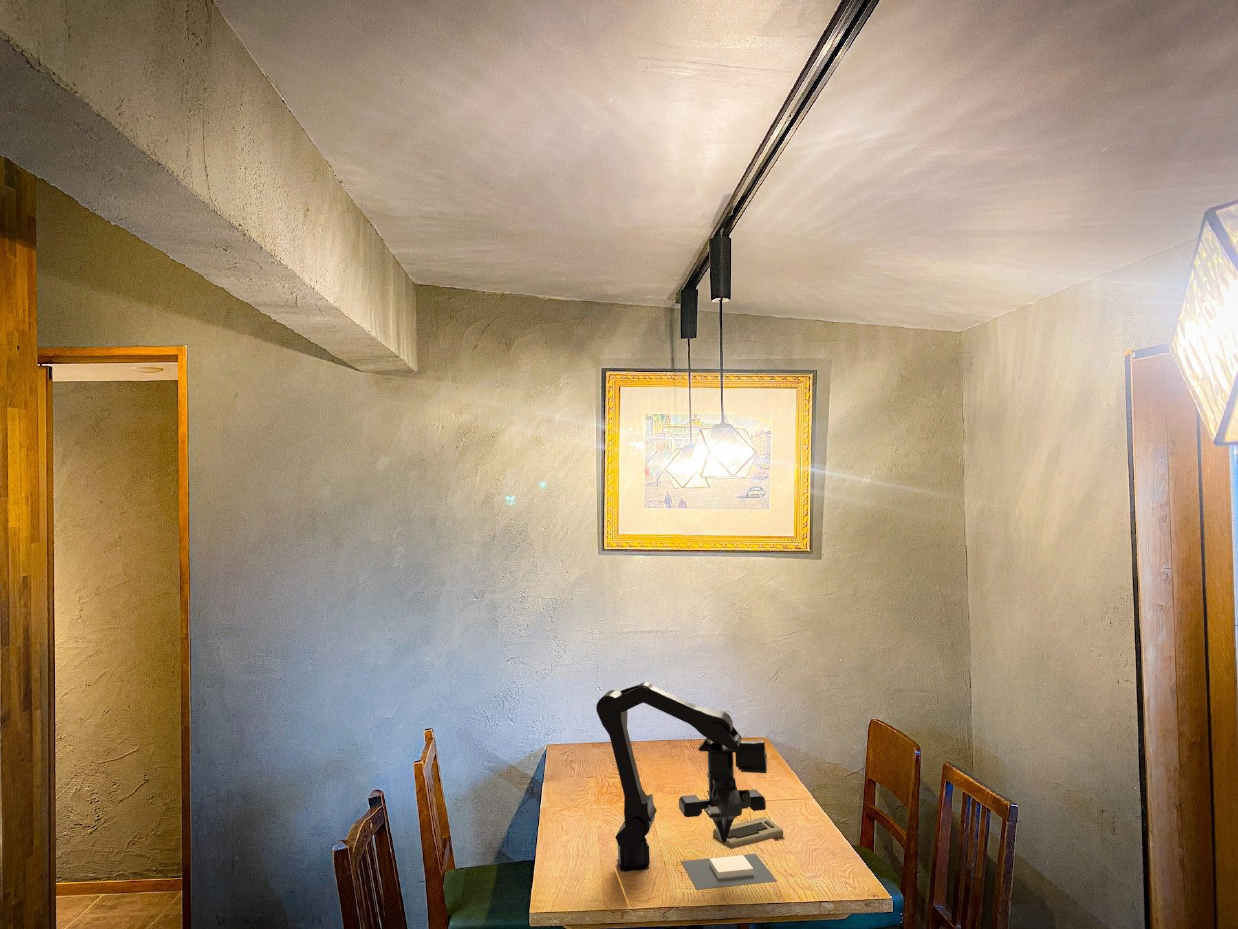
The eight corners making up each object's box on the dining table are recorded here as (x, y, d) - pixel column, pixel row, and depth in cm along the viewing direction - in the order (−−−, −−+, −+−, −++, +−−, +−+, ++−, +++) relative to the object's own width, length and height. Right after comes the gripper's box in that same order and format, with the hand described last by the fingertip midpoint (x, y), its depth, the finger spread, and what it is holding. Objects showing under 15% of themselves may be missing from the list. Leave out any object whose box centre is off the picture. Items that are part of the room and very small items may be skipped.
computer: (731, 852, 186) (730, 838, 186) (712, 840, 193) (712, 826, 193) (784, 839, 193) (783, 825, 193) (764, 827, 200) (763, 814, 200)
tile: (718, 872, 170) (753, 868, 171) (709, 858, 177) (743, 855, 178) (718, 879, 170) (753, 875, 171) (709, 865, 177) (743, 862, 178)
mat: (696, 892, 166) (696, 890, 166) (680, 864, 179) (680, 861, 179) (777, 884, 169) (777, 881, 169) (755, 856, 182) (755, 853, 182)
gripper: (689, 786, 166) (692, 862, 165) (773, 779, 169) (776, 853, 168) (677, 770, 177) (679, 840, 176) (756, 763, 180) (758, 832, 179)
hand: (723, 842), depth 174 cm, fingers closed
